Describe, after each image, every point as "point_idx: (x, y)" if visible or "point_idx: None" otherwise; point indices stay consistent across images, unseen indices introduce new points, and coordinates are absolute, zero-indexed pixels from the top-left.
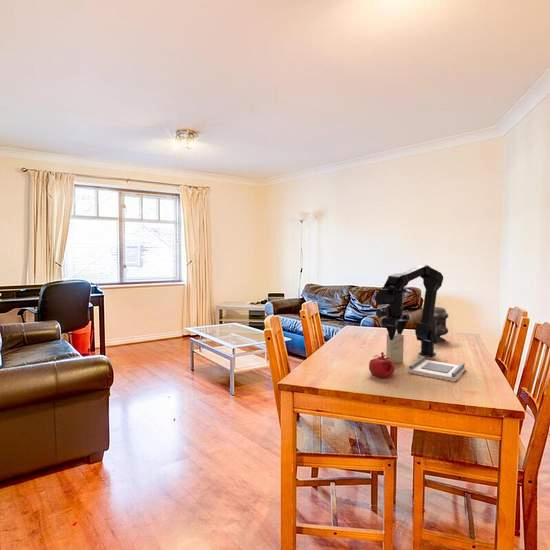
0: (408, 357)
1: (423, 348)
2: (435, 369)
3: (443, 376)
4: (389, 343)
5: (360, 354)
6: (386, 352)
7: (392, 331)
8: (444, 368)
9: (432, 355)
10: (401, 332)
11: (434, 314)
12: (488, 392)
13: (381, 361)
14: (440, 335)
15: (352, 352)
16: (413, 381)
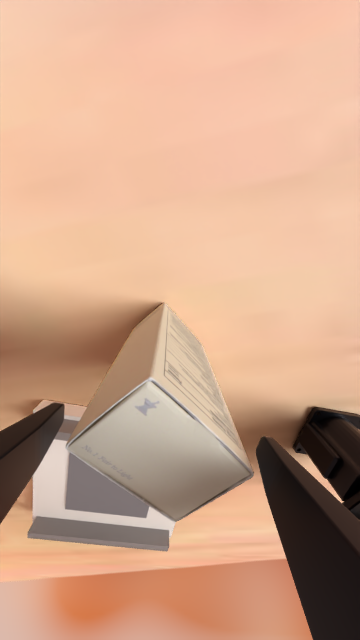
0: (258, 378)
1: (322, 450)
2: (77, 483)
3: (34, 497)
4: (122, 362)
5: (236, 134)
6: (159, 313)
7: None
8: (107, 501)
9: (298, 452)
10: (272, 511)
11: None
12: (9, 555)
13: None
14: None
15: (269, 57)
16: None
